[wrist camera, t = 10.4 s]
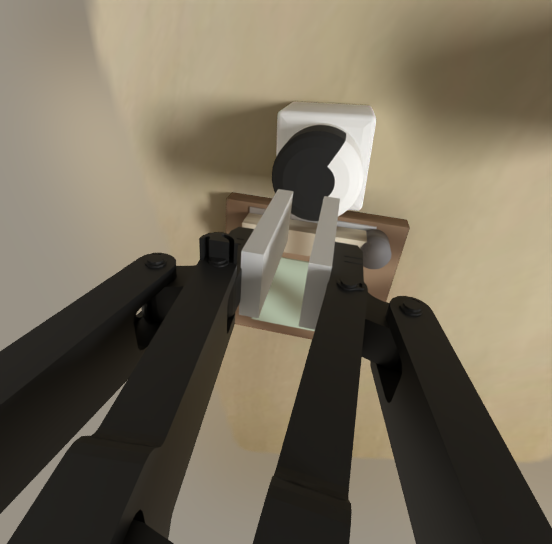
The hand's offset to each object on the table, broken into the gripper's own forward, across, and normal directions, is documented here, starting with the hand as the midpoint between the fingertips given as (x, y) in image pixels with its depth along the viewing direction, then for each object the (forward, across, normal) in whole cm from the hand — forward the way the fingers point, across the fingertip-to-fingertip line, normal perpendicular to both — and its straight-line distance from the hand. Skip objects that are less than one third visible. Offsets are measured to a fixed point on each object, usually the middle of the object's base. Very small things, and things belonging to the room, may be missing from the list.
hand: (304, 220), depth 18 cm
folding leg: (+16, 0, +8) cm, 18 cm away
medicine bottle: (+18, 0, 0) cm, 18 cm away
